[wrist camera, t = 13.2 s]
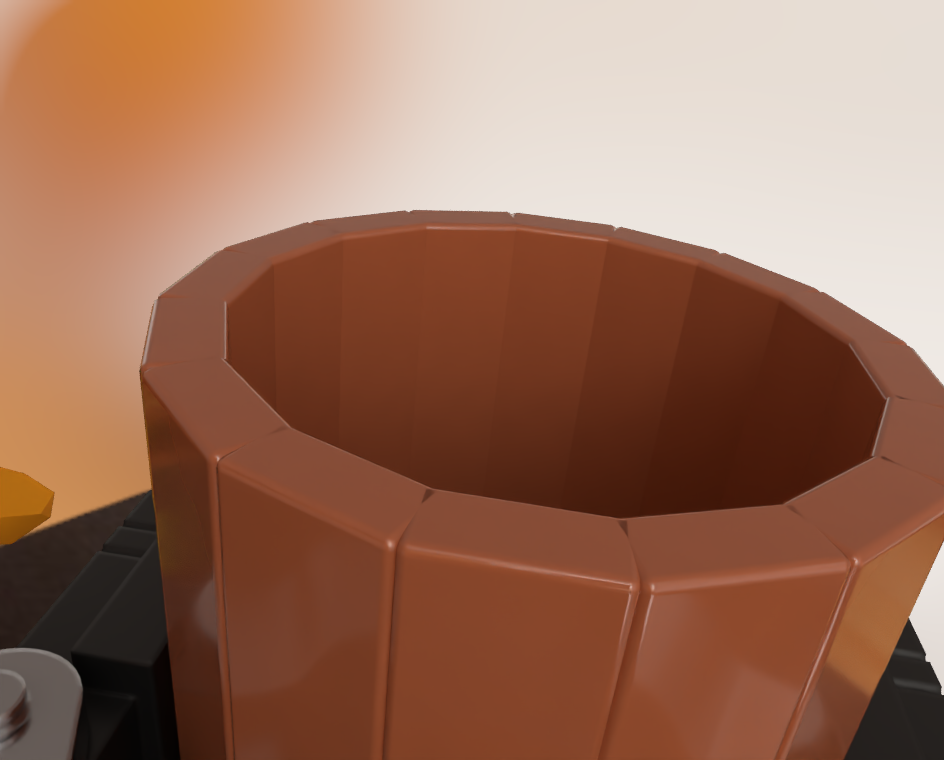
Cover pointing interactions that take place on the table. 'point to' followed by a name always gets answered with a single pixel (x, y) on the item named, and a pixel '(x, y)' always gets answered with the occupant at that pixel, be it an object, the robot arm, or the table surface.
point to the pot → (528, 496)
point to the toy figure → (21, 505)
